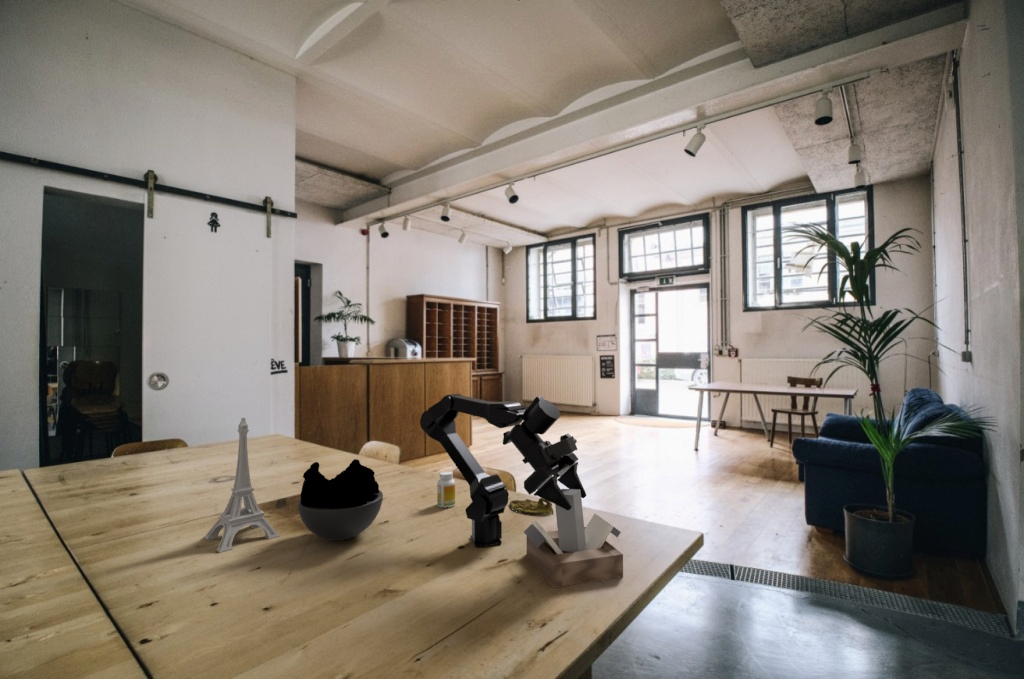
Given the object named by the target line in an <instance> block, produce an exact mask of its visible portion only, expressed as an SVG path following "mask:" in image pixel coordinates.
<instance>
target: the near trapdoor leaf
mask: <svg viewBox="0 0 1024 679" xmlns="http://www.w3.org/2000/svg"><path fill="white" fill-rule="evenodd" d="M547 532H548V531H547V530H545V529H544V527H543V526H541V524H540V523H539V522H538V521H537V520H535V519H534V520H533V521H531V523H530V525H529V526H527V528H526V529H525V530H523V534H525V536H526V538H527V537H528V538H529V539H530V540H531V541H532V543H533V544H534V545H535V546H536V547H537V548H538V547H539V546H540V545H541V544H542V543H543V542H544V541H546V543H547V544H548V545H549V547H550V548H551V549H552V550H553V552H554V553H555V554H563V553H562V551H561V550H560V549H559V547H558V546H557V545H556V543H555V542H554V541H553V539H552V538H551V537H550V536H549V534H548V533H547Z"/></svg>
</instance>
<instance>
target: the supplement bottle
mask: <svg viewBox="0 0 1024 679" xmlns="http://www.w3.org/2000/svg"><path fill="white" fill-rule="evenodd" d="M453 478H454V473H453V471H441V472H440V473H439V480H437V488H436V489H437V493H436V495H437V498H436V500H437V507H439V508H442V507H443V508H442V509H445V508H446V509H447V507H448V508H452V506H453V507H454V506H456V481H455V479H453Z"/></svg>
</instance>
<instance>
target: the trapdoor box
mask: <svg viewBox="0 0 1024 679" xmlns="http://www.w3.org/2000/svg"><path fill="white" fill-rule="evenodd" d="M585 528H586V527H585V526H584V529H585ZM546 532H547V533H548V534H549V536H550V537H551V538H552V539H553V541H554V542H555V543H556V545H557V546H558V547H559V538H558V530H551V531H546ZM559 549H560V548H559ZM562 553H563V554H555V553H554V552H553V550H552V549H551V548H550V547H549V545H548V544H547V543H546V541H544V542H543V543H542V544H541V545H540V546H539V547H538V548H537V547H536V546H535V545H534V544H533V543H532V541H531V540H530V539H529V538H528V537H527V536H526V556H527V557H528V558H529V560H531V561H532V564H534V566H535V567H536V568H537V569H538V571H539V572H540V573H541V575H542V576H543V577H544V579H545V580H546V581H547V582H548V584H549V585H550V586H551V587H552V588H558V587H564V586H571V585H576V584H577V585H578V584H583V583H591V582H597V581H602V580H604V581H605V580H609V579H616V578H621V577H624V554H623V553H622V552H621V551H619V550H618V549H617V548H616V547H614V545H613V544H611V543H609V542H608V541H607V539H606V540H605V542H604V544H603V545H602V547H601V548H600V549H592V550H585V551H578V552H568V551H562Z"/></svg>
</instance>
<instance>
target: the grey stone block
mask: <svg viewBox="0 0 1024 679" xmlns="http://www.w3.org/2000/svg"><path fill="white" fill-rule="evenodd" d="M560 489H561V491H562V492H563V494H564V495H565V497H566V498H567V500H568V501H569V503H570V505H571V506H572V508H571V509H570V510H566V509H564V508H562V507H560V506H558V505H556V504H554V506H555V514H556V517H555V518H556V527H557V531H558V538H559V548H560V550H561V551H568V552H578V551H581V550H582V549H583V548H584V547H585V546H586V540H585V530H584V527H585V522H584V521H585V520H584V511H583V501H582V497H581V490H578V489H569V488H560Z"/></svg>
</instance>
